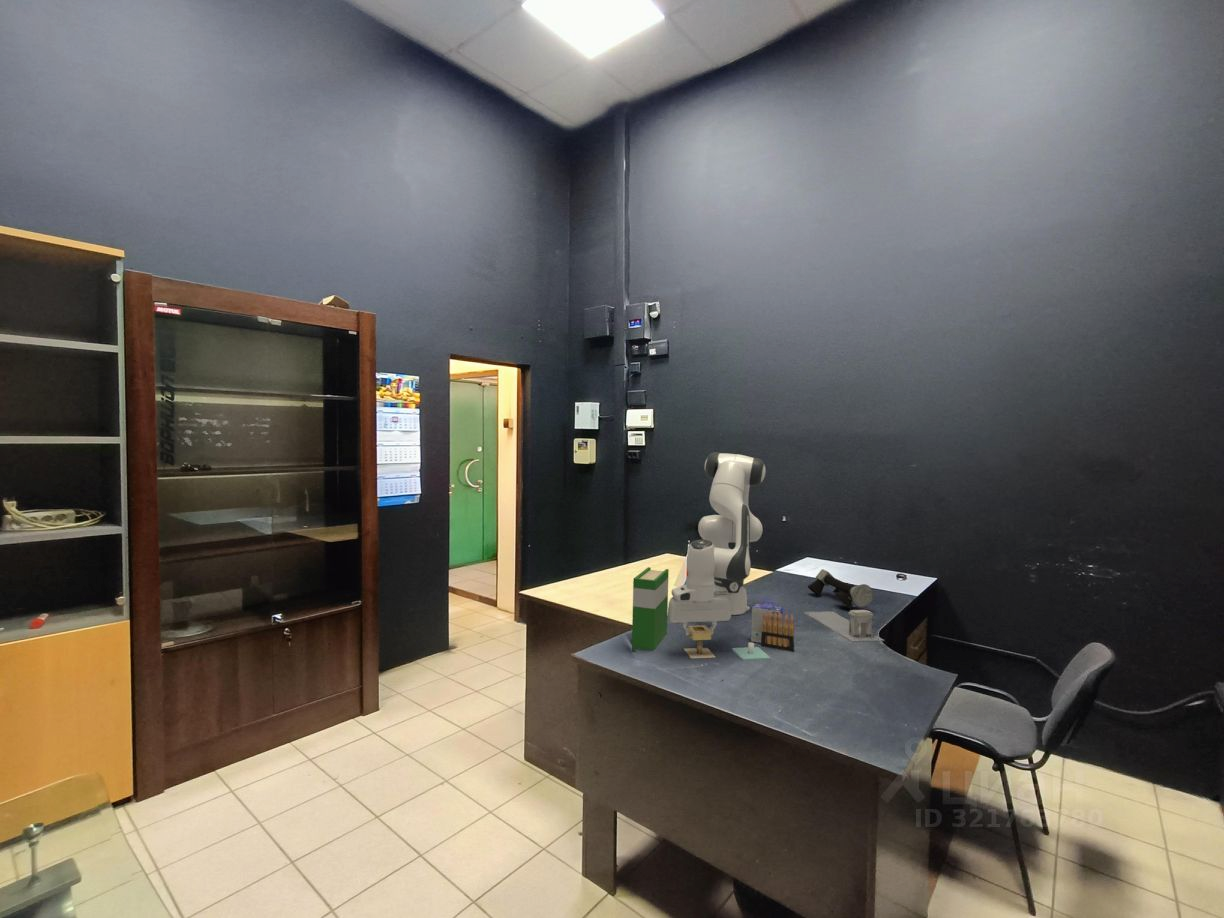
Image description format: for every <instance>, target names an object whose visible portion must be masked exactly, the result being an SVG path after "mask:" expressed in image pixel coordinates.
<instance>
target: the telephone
mask: <svg viewBox="0 0 1224 918" xmlns="http://www.w3.org/2000/svg"><path fill="white" fill-rule="evenodd" d="M815 579H816V580H814V581H813V582H811V583H810V584H808V585H807V588H808V589H809V590H810V591H811V592H812V593H813V594H815V595H816V596H818V597H821V594H822V593H823V589H824V587H825V586H826V587H829V586H831V587H833V588H834V589H833V590H832V593H833V594H834V595H835V596H836V597H837V598H838V600H840V601H841V602H842V603H843V604H844V605H845V606H846V607H847V608H848V609H849V610H851V609H852V607H853V606H852V603H853V604H855V606H857V607H859V608H865V607H867V606H868V605H869V604H871V602H872V601H873V597H874V591H873V589H872V587H871V586H870V585H868V584H866V583H865V584H863V583H862V584H859V585H855V584H853V583H848V582H846V581H845V582H844V581H842V580H841V579H840V580H839V579H837V578H836V577H834V576H833V575H832V573H830V572H829V571H827V570H826V569H824V568H823V569H821V570H820V571H819V572H818V573H817V574H816V576H815ZM852 610H853V609H852Z"/></svg>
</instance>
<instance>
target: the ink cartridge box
mask: <svg viewBox="0 0 1224 918" xmlns="http://www.w3.org/2000/svg"><path fill="white" fill-rule="evenodd" d="M774 601H775V600H774V599H770V598H763V600H762V604H759V603H755V604H754V605H753V606H752V607H751V628H750V629H751V630H750V632H751V633H750V641H751V642H752V643H760V644H761V636H762V622H763V614H764V611H766V616H767V624H768V616H769V613H770V612H771V614H772V631H773V621H774V614H775V612H776V614H777V624H779V616H780V613H781V614H782V618H783V619H784V617H783V616H784V607H783V606H775V605H774V603H775V602H774ZM766 602H769V603H766ZM777 641H778V637H777Z"/></svg>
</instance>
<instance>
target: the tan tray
mask: <svg viewBox="0 0 1224 918" xmlns="http://www.w3.org/2000/svg"><path fill="white" fill-rule="evenodd" d="M686 627H687V629H690V630H691V635H689V638H690V639H691V640H692V641H697V640H703V641H704V640H705V641H709V640H712V635H711V631H710V630H709V629H708V628H709V627H707V626H706V625H705V624H704V625H703V624H701V625H686Z"/></svg>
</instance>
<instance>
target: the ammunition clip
mask: <svg viewBox="0 0 1224 918" xmlns="http://www.w3.org/2000/svg"><path fill="white" fill-rule="evenodd" d="M783 619H784V621H783ZM794 621H795V619H794V615H793V614H791V616H790V619H789V616H788V614H787V613H786V614H785V616H784V617H783V618H782V614H781V613H780V616H779V624H777V614H776V612H775V614H774V621H773V631H772V614H771V612H770V613H769V616H768V624H767V616H766V611H764V614H763V622H762V636H761V643H760V647H763V648H769V649H774V650H775V649H776V650H780V651H787V652H792V653H794V652H795V622H794ZM777 637H778V641H777Z"/></svg>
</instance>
